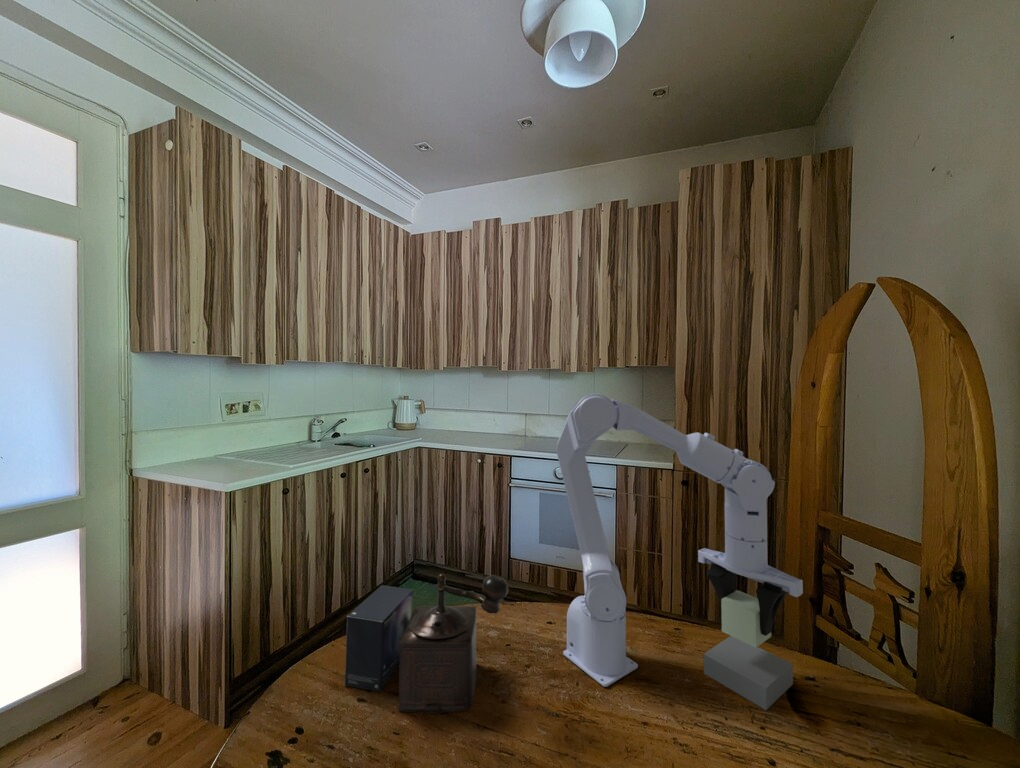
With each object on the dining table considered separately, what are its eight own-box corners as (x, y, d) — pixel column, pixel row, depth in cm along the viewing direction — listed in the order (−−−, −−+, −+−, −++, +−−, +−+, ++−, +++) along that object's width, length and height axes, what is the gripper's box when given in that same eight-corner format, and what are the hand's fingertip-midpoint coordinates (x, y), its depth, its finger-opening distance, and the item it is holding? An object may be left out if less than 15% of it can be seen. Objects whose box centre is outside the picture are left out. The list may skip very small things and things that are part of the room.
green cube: (721, 631, 63) (721, 598, 63) (737, 621, 66) (737, 590, 66) (756, 647, 59) (755, 613, 59) (771, 636, 61) (770, 603, 62)
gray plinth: (703, 673, 63) (703, 654, 63) (732, 652, 68) (732, 634, 68) (766, 710, 56) (765, 688, 56) (793, 683, 61) (792, 663, 61)
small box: (382, 693, 59) (383, 621, 59) (342, 687, 60) (343, 616, 60) (413, 649, 69) (414, 587, 69) (379, 644, 70) (380, 583, 71)
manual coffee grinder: (394, 716, 55) (395, 583, 55) (413, 662, 66) (415, 551, 66) (508, 717, 55) (508, 583, 55) (508, 662, 66) (508, 551, 66)
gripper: (810, 544, 59) (812, 638, 59) (713, 519, 71) (714, 596, 70) (790, 555, 55) (791, 656, 55) (690, 526, 67) (691, 609, 66)
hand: (746, 623), depth 62 cm, fingers closed on green cube, 5 cm apart
